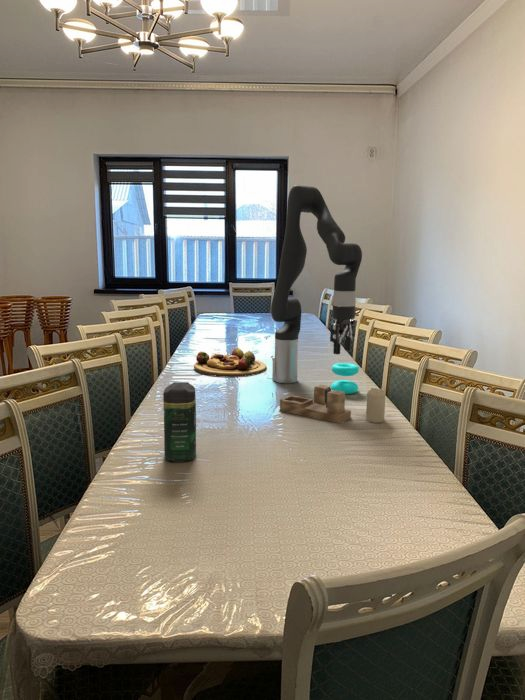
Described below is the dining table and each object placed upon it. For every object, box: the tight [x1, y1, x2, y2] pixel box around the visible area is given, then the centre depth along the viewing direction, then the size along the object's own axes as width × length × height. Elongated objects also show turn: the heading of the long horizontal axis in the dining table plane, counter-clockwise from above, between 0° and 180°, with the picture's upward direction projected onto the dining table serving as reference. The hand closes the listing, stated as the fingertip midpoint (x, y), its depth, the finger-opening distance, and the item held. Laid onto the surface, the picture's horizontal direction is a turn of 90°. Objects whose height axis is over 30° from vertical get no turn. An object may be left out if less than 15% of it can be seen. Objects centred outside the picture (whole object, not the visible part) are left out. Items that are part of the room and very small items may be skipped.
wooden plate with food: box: [193, 346, 267, 377], centre depth 228 cm, size 32×32×8 cm
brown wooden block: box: [313, 384, 332, 405], centre depth 176 cm, size 5×4×6 cm
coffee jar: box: [162, 381, 197, 463], centre depth 129 cm, size 10×8×19 cm
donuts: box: [330, 362, 360, 395], centre depth 191 cm, size 10×10×10 cm
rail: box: [279, 389, 352, 424], centre depth 164 cm, size 22×7×8 cm, turn 54°
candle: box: [365, 387, 386, 424], centre depth 158 cm, size 6×6×10 cm
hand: (342, 352), depth 175 cm, fingers open, 8 cm apart
